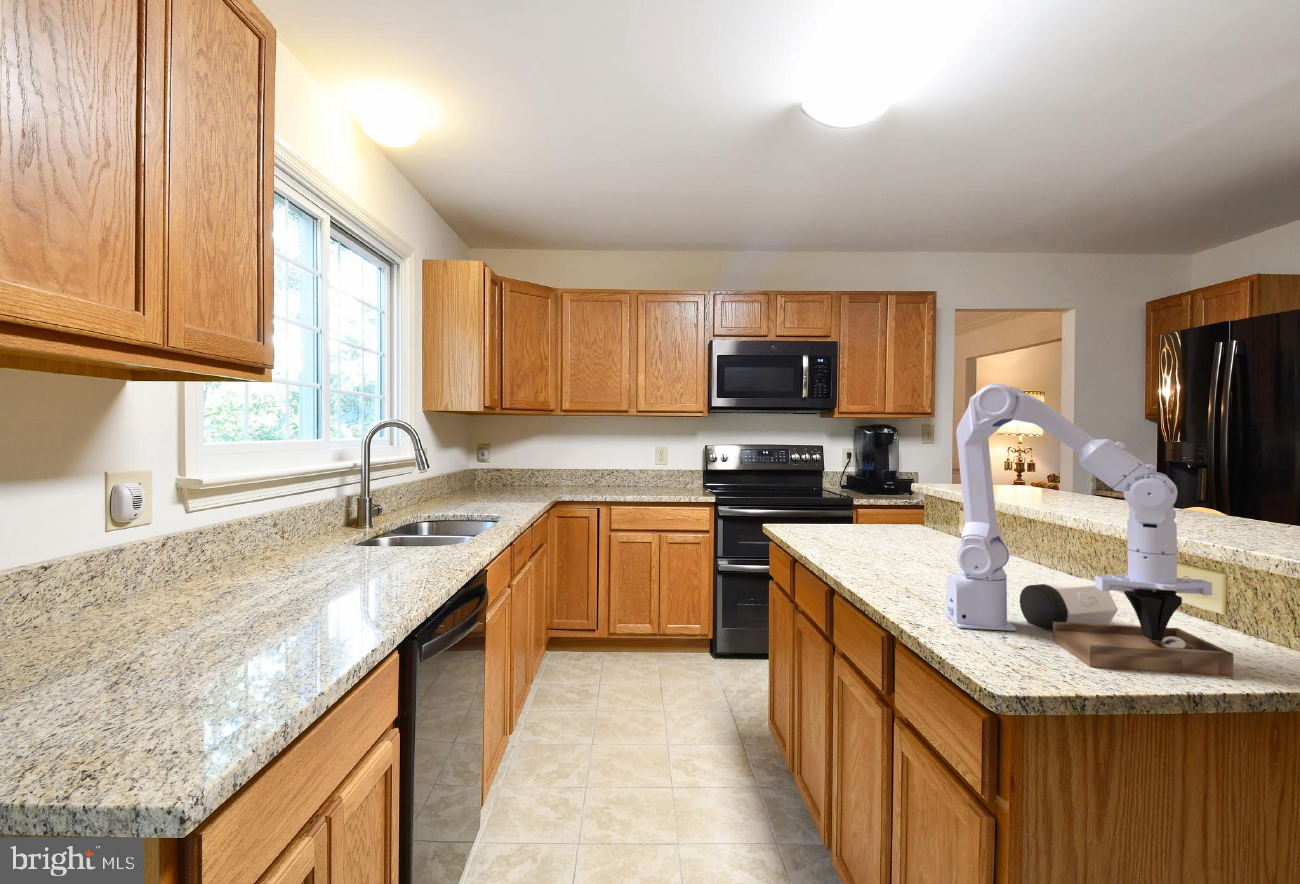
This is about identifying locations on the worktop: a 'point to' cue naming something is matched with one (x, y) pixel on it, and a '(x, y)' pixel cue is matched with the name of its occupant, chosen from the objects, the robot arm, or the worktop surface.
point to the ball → (1173, 643)
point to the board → (1140, 649)
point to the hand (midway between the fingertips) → (1152, 638)
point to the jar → (1066, 603)
